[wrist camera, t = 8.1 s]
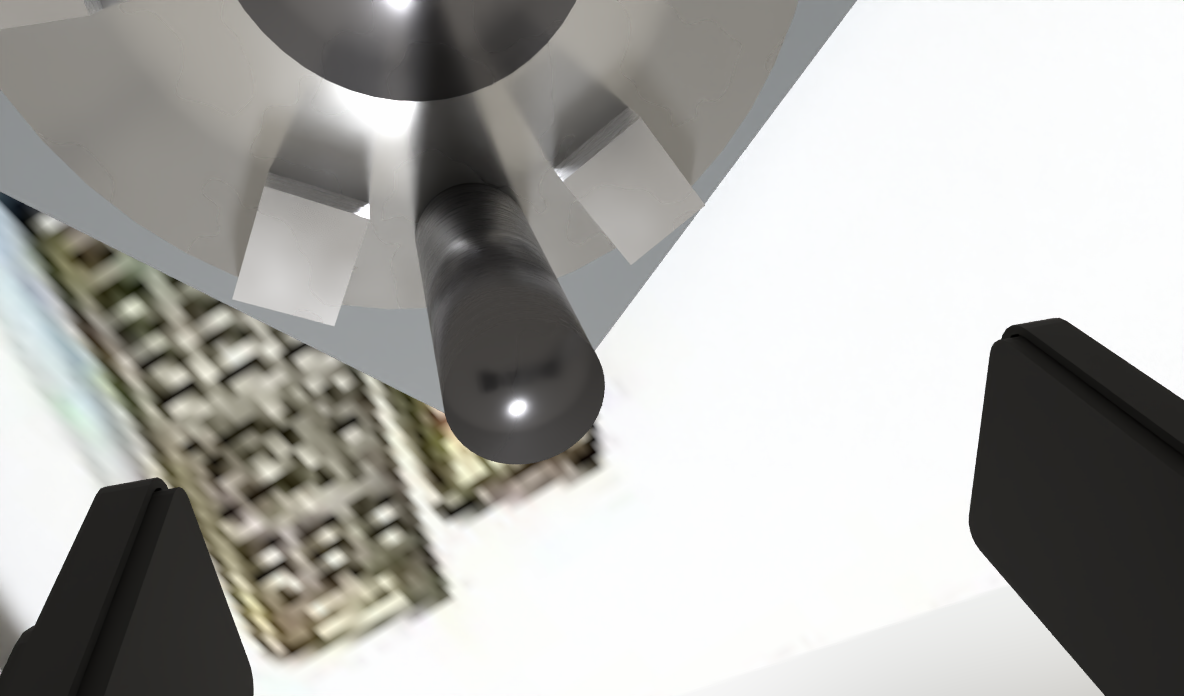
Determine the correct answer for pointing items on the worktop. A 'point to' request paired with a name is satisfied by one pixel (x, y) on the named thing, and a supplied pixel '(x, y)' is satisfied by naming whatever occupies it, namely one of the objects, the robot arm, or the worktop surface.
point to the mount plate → (373, 335)
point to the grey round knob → (406, 158)
